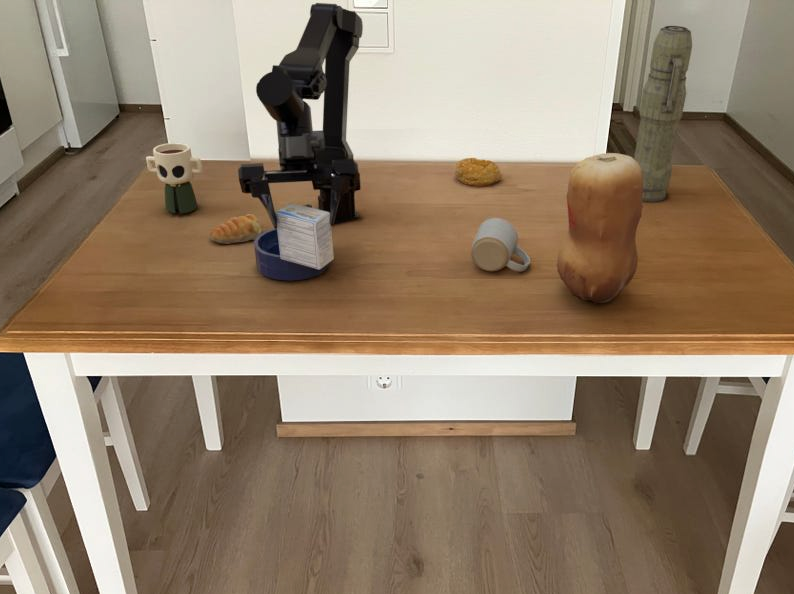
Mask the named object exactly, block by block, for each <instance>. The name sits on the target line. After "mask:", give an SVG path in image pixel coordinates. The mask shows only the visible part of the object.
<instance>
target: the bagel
mask: <svg viewBox="0 0 794 594" xmlns="http://www.w3.org/2000/svg"><path fill="white" fill-rule="evenodd" d="M453 169H454V175H456V177H457V179H458V181H459V182H461V183H462V184H464V185H466V186H467V185H468V186H473V187H486V186H489V185H492V184H493V183H497V182H500V181H501V180H502V179H503V175H502V173H501V169H500V168H499V166H498V165H497V163H496V162H494V161H491V160H489V159H488V160H486V159H483V158H482V159H478V158H476V157H466V158H463V159H460V160H459V161H457V162H456V164H455V165H454V168H453Z"/></svg>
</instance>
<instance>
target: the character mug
mask: <svg viewBox="0 0 794 594" xmlns="http://www.w3.org/2000/svg"><path fill="white" fill-rule="evenodd" d="M152 154H153V156H151V155H150V156H149V155H148V156H146V157H145V161H146V166H147V171H148V172H149V173H152V174H153V173H155V174H156V175H157V178H158V180H159V181H160V182H161V183H162V184H163V183H164V184H165V185H164V203H165V204H164V205H165V210H166V211H167V212H168V213H170V214H171V213H172V214H176V210H178V211H179V214H188V213H191V212H193V211H195V210H196V208H197V207H198V202H197V198H196V195H195V191H194V188H193V185H192V183H191V181H192V180H193V179H194V176H195V174H199V175H200V174H202V173H203V171H204V170H203V164H202V159H201V158H200V157H195V156H194V157H193V156H192V150H191V146H190V145H188V144H186V143H183V142H168V143H161V144H159V145H156V146H155V147H153V150H152ZM152 162H154V164H155V165H154V166H155V167H153V163H152ZM194 163H196V167H197V168H194Z"/></svg>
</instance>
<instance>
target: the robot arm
mask: <svg viewBox="0 0 794 594" xmlns="http://www.w3.org/2000/svg"><path fill="white" fill-rule="evenodd" d="M363 27H364V25H363V19H362V17H361V16H359V14H358V13H357V12H356V11H355V10H349V9H346V8H343V7H342V6H341V5H338V4H337V3H328V2H327V3H325V2H315V3H312V4H311V6H310V11H309V18H308V21H307V23H306V26H305V28H304V30H303V33H302V35H301V37H300V40H299V41H298V44H297V46H296V48H295V49H294V50H293V51H290V52H289V53H287V54H285V55H284V56H283V58H282V60H281V61H280V62H279V64H278V65H277V64H276V65H275V64H273V65H272V67H271V68H272V69H271V71H269V72H267V73H266V74H264V75H263V76H262V77H261V78H260V79H259V81H258V82H257V83H256V87H255V92H256V96H257V98H258V100H259V102H260V103H261V104H262V105H263V107H264V109H265V110H266V111H267V113H268V114H269V116H270V117H271V118H272V119H273V120H275V122H276V132H277V133H276V134H277V144H278V149H277V152H278V161H279V162H278V163H279V167H280V169H279V170H277V169H275V170H265V165H264V162H257V163H241V164H240V165H239V166H238V168H237V173H238V183H239V186H240V189H241V193H243V194H247V195H249V194H250V195H251V197H252V198H254V199H258V200H259V201H260V203H261V204H262V206H263V207H264V208H265V211H266V212H267V215H268V217H269V219H270V222H271V224H272V226H273V229H274V228H275V229H277V220H276V214H275V213H276V211H275V206H274V202H273V197H272V192H271V189H270V185H269V184H281V183H283V184H284V183H301V182H311V184H312V189H313V191H319V195H318V196H317V202H318V210H322V211H326V212H329V213H330V220H331V227H332V226H334V224H339V223H344V222H347V221H352V220H357V219H359V218H360V216H359V214H358V213H356V202H355V201H356V200H355V197H356V196H355V193H356V192H358V191H361V188H362V187H361V173H360V172H359V166H358V162H357V161H356V160H355V159H354V153H353V151H352V149H351V147H350V145H349V142H348V141H347V128H348V126H347V125H348V124H347V123H348V108H349V107H348V106H349V105H348V104H349V83H350V63H351V60H352V59H353V58H354V56H355V55H356V53H357V52H358V50H359V47H360V39H361V38H362V36H363V31H364V29H363ZM323 65H324V68H323ZM322 94H323V109H322V110H323V111H322V112H323V113H322V130H314V128H313V121H312V109H311V106H310V105H309V103H308V102H306V101H304V100H310V101H311V100H312V101H317V100H319V99H320V98H321V96H322Z"/></svg>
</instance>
